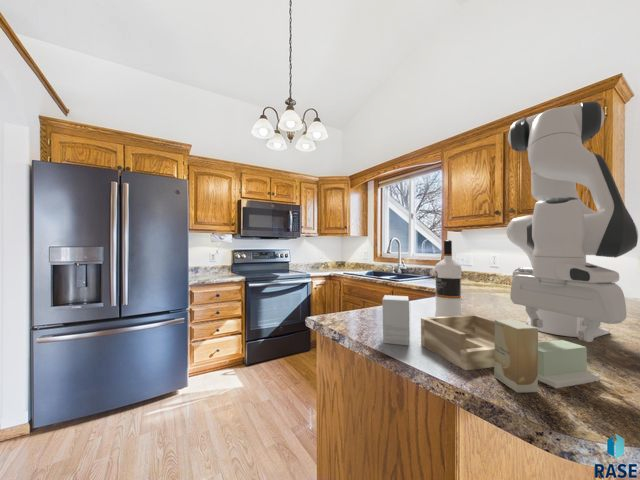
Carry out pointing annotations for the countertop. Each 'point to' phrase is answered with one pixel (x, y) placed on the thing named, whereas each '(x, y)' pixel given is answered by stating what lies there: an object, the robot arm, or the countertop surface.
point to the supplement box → (396, 320)
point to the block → (561, 358)
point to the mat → (569, 379)
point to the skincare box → (516, 355)
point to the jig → (461, 339)
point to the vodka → (448, 284)
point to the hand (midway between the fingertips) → (559, 333)
